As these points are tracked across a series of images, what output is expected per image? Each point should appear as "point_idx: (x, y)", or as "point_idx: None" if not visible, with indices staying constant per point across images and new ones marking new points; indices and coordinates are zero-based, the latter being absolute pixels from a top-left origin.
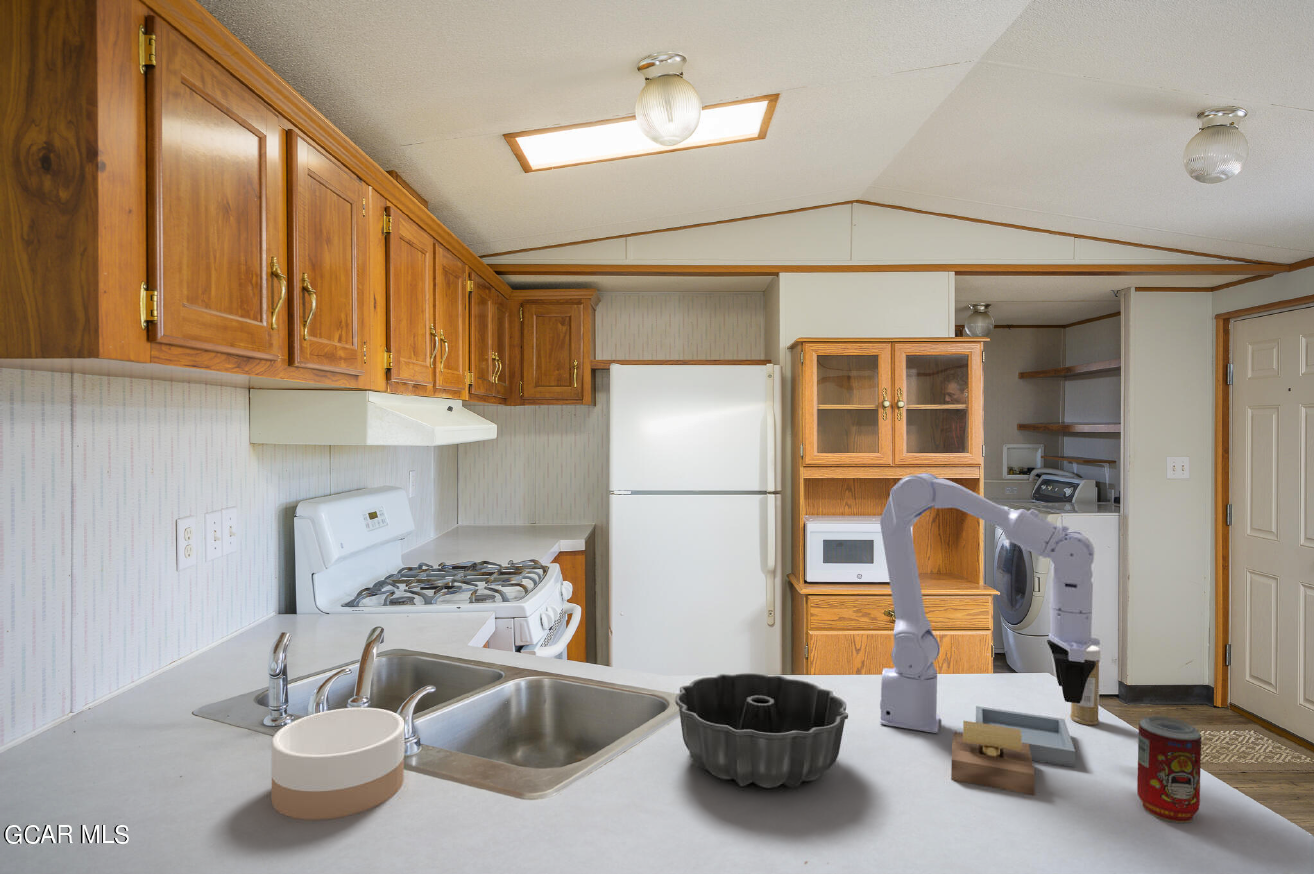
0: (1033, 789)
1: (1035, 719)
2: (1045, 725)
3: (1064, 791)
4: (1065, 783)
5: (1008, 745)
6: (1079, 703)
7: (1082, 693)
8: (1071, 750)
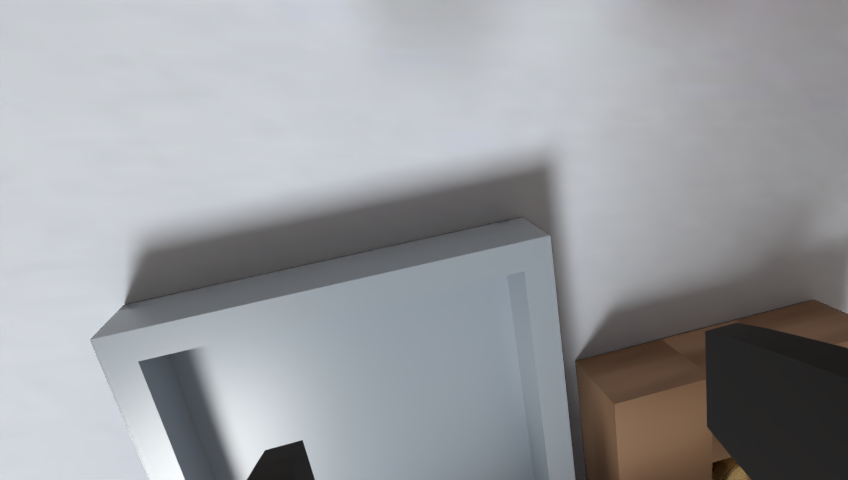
0: (829, 308)
1: (180, 447)
2: (171, 393)
3: (750, 223)
4: (685, 228)
5: None
6: (737, 325)
7: (845, 351)
8: (550, 249)
